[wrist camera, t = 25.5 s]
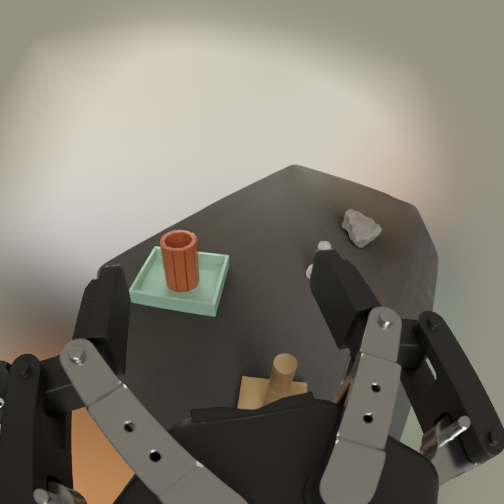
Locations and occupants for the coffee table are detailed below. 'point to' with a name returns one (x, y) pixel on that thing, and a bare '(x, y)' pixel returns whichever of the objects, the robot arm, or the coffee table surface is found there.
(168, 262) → the ring collar
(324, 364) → the coffee table surface
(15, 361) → the robot arm
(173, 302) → the tray
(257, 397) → the peg stand
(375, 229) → the stone
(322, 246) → the chess piece
